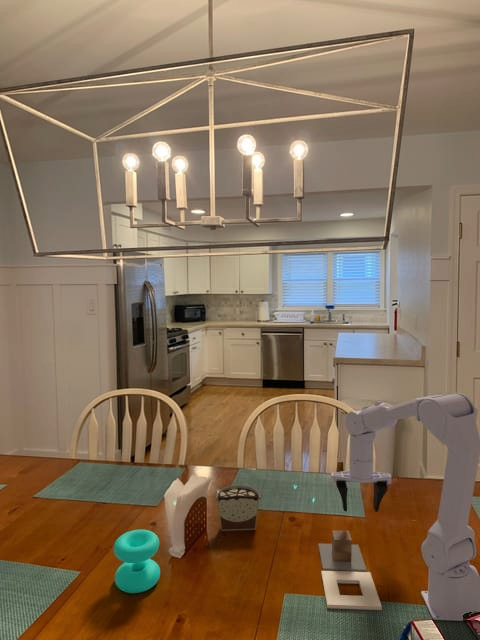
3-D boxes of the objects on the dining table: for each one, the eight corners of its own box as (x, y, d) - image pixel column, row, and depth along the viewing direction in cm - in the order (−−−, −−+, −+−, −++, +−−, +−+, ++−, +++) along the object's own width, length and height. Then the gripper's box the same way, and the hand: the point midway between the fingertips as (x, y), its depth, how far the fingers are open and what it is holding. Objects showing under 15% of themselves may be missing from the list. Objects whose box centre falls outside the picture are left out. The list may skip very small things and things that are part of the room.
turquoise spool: (132, 558, 97) (104, 541, 103) (134, 603, 98) (105, 583, 104) (168, 537, 105) (140, 522, 111) (169, 578, 106) (141, 561, 112)
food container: (259, 517, 132) (259, 483, 131) (261, 529, 126) (261, 494, 125) (216, 518, 132) (215, 484, 131) (215, 530, 125) (215, 495, 124)
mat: (358, 546, 118) (358, 544, 118) (366, 571, 108) (366, 569, 108) (318, 544, 118) (318, 543, 118) (322, 569, 108) (322, 568, 108)
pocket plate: (370, 575, 106) (370, 572, 106) (381, 610, 95) (381, 606, 95) (321, 573, 107) (321, 570, 107) (327, 608, 96) (327, 604, 96)
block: (348, 552, 115) (348, 530, 114) (351, 562, 111) (351, 540, 110) (331, 551, 115) (332, 530, 114) (334, 561, 111) (334, 539, 110)
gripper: (386, 451, 120) (385, 502, 121) (329, 451, 120) (329, 501, 122) (394, 462, 113) (392, 516, 114) (333, 462, 113) (332, 515, 115)
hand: (360, 509), depth 117 cm, fingers open, 7 cm apart
